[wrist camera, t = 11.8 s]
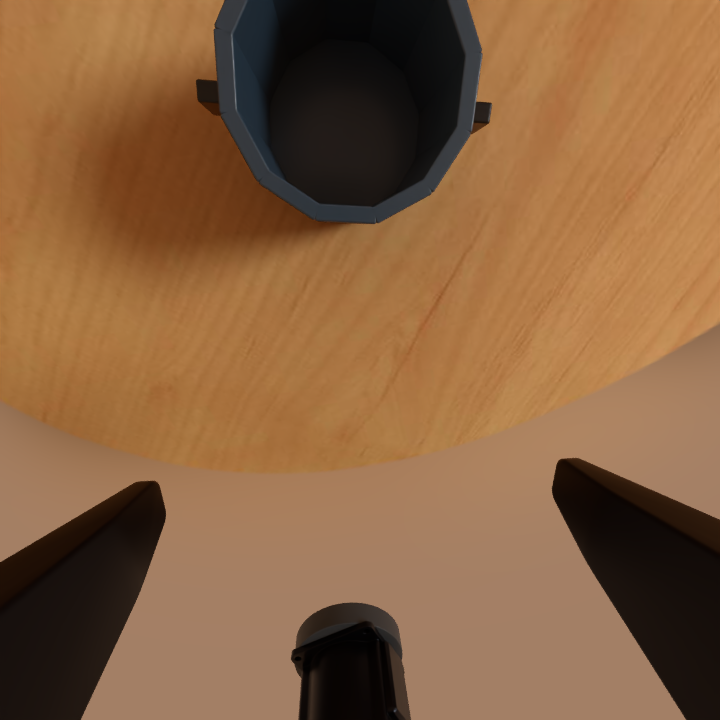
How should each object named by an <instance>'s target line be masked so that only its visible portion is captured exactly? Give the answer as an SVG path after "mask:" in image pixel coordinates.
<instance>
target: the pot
mask: <svg viewBox="0 0 720 720" xmlns="http://www.w3.org/2000/svg"><path fill="white" fill-rule="evenodd" d="M214 43H215V57H216V71H217V81H213V80H201V79H198V80H196V87H197V98H198V101H199V102H200V103H201V104H202V105H203V106H204V107H205V108H206V109H208V110H209V111H210V112H211V113H212V114H213V115H219V116H221V118H222V120H223V121H224V123H225V125H226V127H227V129H228V130H229V132H230V134H231V136H232V138H233V139H234V141H235V143H236V145H237V146H238V148H239V150H240V152H241V154H242V155H243V157H244V159H245V161H246V163H247V164H248V166H249V168H250V170H251V172H252V173H253V175H254V177H255V179H256V180H257V181H258V182H259V184H260V185H262V186H263V187H265V188H266V189H268V190H269V191H271V192H272V193H274V194H275V195H277V196H278V197H280V198H281V199H283V200H284V201H286V202H287V203H289V204H290V205H292V206H293V207H295V208H296V209H298V210H299V211H301V212H302V213H304V214H305V215H307V216H308V217H310V218H311V219H313V220H316V221H321V222H338V223H357V224H375V223H380V222H381V221H383V220H385V219H387V218H389V217H391V216H392V215H394V214H396V213H398V212H400V211H402V210H403V209H405V208H407V207H409V206H411V205H413V204H414V203H416V202H418V201H420V200H422V199H424V198H425V197H427V196H429V195H431V193H432V192H434V191H435V189H436V188H437V186H438V185H439V183H440V181H441V180H442V178H443V177H444V175H445V174H446V172H447V171H448V169H449V167H450V166H451V164H452V163H453V161H454V160H455V158H456V157H457V155H458V154H459V152H460V150H461V149H462V147H463V146H464V144H465V143H466V141H467V140H468V138H469V137H470V134H473V133H475V132H476V131H478V130H479V129H481V128H482V127H484V126H486V125H487V124H489V121H490V115H491V108H492V103H487V102H476V99H477V91H478V84H479V76H480V69H481V61H482V53H481V51H482V48H481V45H480V42H479V38H478V35H477V32H476V29H475V25H474V22H473V19H472V16H471V12H470V9H469V6H468V3H467V0H225V1H224V3H223V6H222V8H221V10H220V13H219V15H218V18H217V20H216V22H215V29H214Z"/></svg>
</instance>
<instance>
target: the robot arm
mask: <svg viewBox="0 0 720 720" xmlns="http://www.w3.org/2000/svg"><path fill="white" fill-rule="evenodd" d="M552 493H553V498H554V500H555V502H556V504H557V506H558V508H559V510H560V512H561V514H562V516H563V518H564V520H565V522H566V524H567V525H568V527H569V529H570V531H571V533H572V535H573V537H574V539H575V541H576V543H577V545H578V547H579V549H580V551H581V553H582V555H583V556H584V558H585V560H586V562H587V564H588V565H589V567H590V569H591V570H592V572H593V574H594V575H595V577H596V578H597V580H598V581H599V583H600V584H601V586H602V588H603V589H604V591H605V592H606V594H607V596H608V597H609V599H610V600H611V602H612V603H613V605H614V607H615V608H616V610H617V611H618V613H619V615H620V616H621V618H622V619H623V621H624V622H625V624H626V625H627V627H628V629H629V630H630V632H631V633H632V635H633V636H634V638H635V640H636V641H637V643H638V645H639V646H640V648H641V649H642V651H643V652H644V654H645V656H646V657H647V659H648V660H649V662H650V663H651V665H652V667H653V668H654V670H655V671H656V673H657V674H658V676H659V678H660V679H661V681H662V682H663V684H664V685H665V687H666V689H667V690H668V692H669V693H670V695H671V697H672V698H673V700H674V701H675V703H676V704H677V706H678V708H679V709H680V710H681V712H682V714H683V715H684V717H685V719H686V720H720V520H719V519H717V518H714V517H712V516H710V515H708V514H705V513H703V512H701V511H699V510H696V509H694V508H691V507H689V506H687V505H685V504H682V503H680V502H678V501H676V500H673V499H671V498H669V497H666V496H664V495H662V494H659V493H657V492H655V491H653V490H650V489H648V488H646V487H643V486H641V485H639V484H636V483H634V482H632V481H630V480H627V479H625V478H623V477H620V476H618V475H616V474H614V473H611V472H609V471H607V470H604V469H602V468H600V467H597V466H595V465H593V464H591V463H588V462H586V461H584V460H581V459H579V458H567V459H560V460H559V461H558V463H557V465H556V470H555V475H554V481H553V486H552ZM165 519H166V510H165V506H164V502H163V497H162V493H161V490H160V486H159V484H158V483H157V482H156V481H140V482H135V483H133V484H132V485H130V486H128V487H127V488H125V489H123V490H122V491H120V492H118V493H117V494H115V495H113V496H111V497H110V498H108V499H106V500H105V501H103V502H101V503H100V504H98V505H96V506H95V507H93V508H92V509H90V510H88V511H86V512H84V513H83V514H81V515H79V516H78V517H76V518H74V519H73V520H71V521H69V522H68V523H66V524H64V525H63V526H61V527H59V528H57V529H56V530H54V531H52V532H51V533H49V534H47V535H46V536H44V537H43V538H41V539H39V540H37V541H35V542H34V543H32V544H31V545H29V546H27V547H25V548H24V549H22V550H20V551H19V552H17V553H16V554H14V555H12V556H10V557H8V558H7V559H5V560H4V561H2V562H0V720H81V718H82V716H83V714H84V711H85V709H86V707H87V705H88V703H89V701H90V699H91V696H92V694H93V692H94V690H95V688H96V686H97V683H98V681H99V679H100V677H101V675H102V673H103V671H104V668H105V666H106V664H107V662H108V660H109V658H110V656H111V654H112V652H113V649H114V647H115V645H116V643H117V641H118V639H119V637H120V634H121V632H122V630H123V628H124V626H125V624H126V622H127V619H128V617H129V615H130V613H131V611H132V609H133V606H134V604H135V602H136V600H137V598H138V595H139V592H140V590H141V588H142V585H143V582H144V580H145V577H146V574H147V571H148V568H149V565H150V563H151V560H152V557H153V554H154V551H155V549H156V546H157V543H158V540H159V537H160V534H161V532H162V529H163V526H164V523H165ZM291 660H292V662H293V663H294V664H295V665H296V666H297V667H298V668H299V669H300V671H301V672H302V678H301V692H300V705H299V720H411V717H410V711H409V704H408V698H407V691H406V685H405V678H404V667H403V665H402V660H401V659H400V657H399V656H398V655H397V653H396V652H395V651H394V649H393V648H392V646H391V645H390V644H389V643H388V642H387V641H386V640H384V638H383V637H382V636H381V634H380V633H379V632H378V630H377V629H376V627H375V626H374V625H373V623H372V622H370V621H364V622H361V623H358V624H356V625H353V626H351V627H348V628H346V629H343V630H341V631H338V632H336V633H333V634H331V635H328V636H326V637H323V638H321V639H318V640H316V641H313V642H311V643H308V644H306V645H303V646H301V647H298V648H296V649H294V650H293V651H292V655H291Z"/></svg>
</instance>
